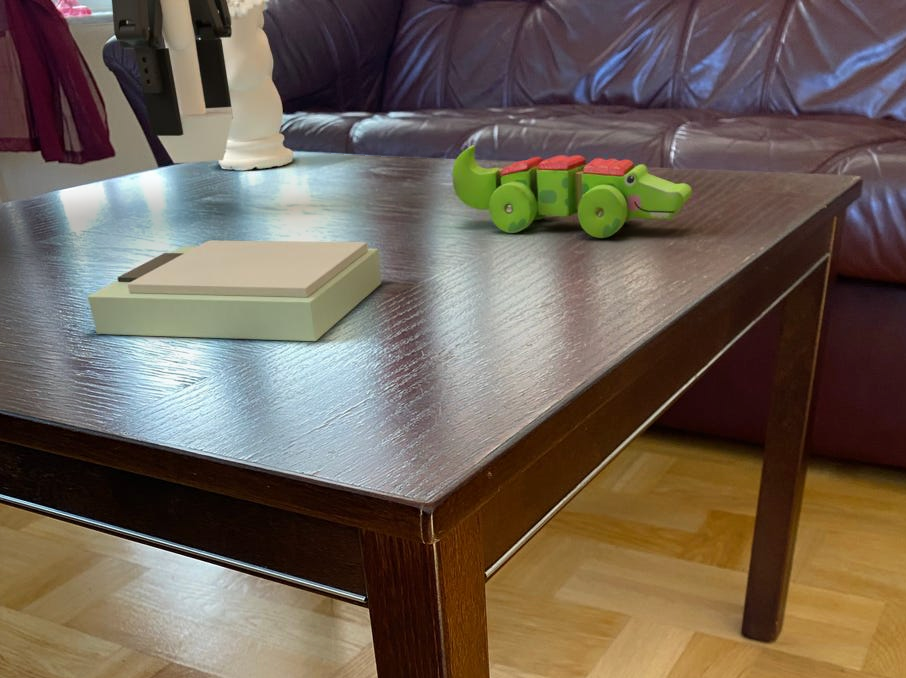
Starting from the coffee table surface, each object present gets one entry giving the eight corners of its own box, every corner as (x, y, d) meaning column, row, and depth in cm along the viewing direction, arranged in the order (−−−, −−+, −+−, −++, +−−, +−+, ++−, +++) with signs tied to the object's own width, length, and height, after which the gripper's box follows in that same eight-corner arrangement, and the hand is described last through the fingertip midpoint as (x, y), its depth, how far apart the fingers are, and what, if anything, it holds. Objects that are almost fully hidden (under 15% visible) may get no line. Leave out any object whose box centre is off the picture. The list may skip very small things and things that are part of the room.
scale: (96, 334, 65) (84, 286, 63) (189, 279, 76) (181, 237, 74) (315, 341, 62) (309, 291, 60) (381, 283, 72) (377, 239, 71)
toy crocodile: (696, 225, 83) (702, 143, 80) (673, 244, 78) (678, 157, 75) (478, 213, 90) (474, 138, 87) (444, 230, 85) (439, 151, 82)
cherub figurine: (264, 154, 124) (232, -66, 111) (340, 160, 118) (315, -72, 105) (188, 171, 116) (144, -64, 103) (265, 179, 110) (228, -70, 97)
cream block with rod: (238, 148, 98) (211, -39, 90) (239, 163, 91) (210, -39, 82) (161, 152, 97) (126, -36, 89) (156, 168, 89) (117, -36, 81)
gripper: (109, -212, 70) (174, 146, 83) (243, -180, 88) (279, 110, 100) (14, -204, 72) (91, 145, 84) (164, -175, 89) (210, 111, 102)
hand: (194, 126), depth 92 cm, fingers closed on cream block with rod, 9 cm apart
